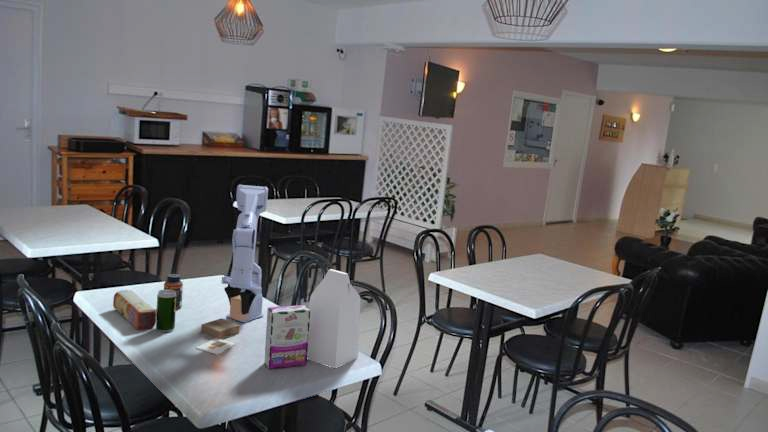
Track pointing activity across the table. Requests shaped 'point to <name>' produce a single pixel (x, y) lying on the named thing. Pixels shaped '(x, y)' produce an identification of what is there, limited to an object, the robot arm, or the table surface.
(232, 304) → the terracotta block
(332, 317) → the milk
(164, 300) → the beer can
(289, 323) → the candy bar box
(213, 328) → the walnut slab
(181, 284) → the supplement bottle
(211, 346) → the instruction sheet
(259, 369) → the table surface
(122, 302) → the snack package
